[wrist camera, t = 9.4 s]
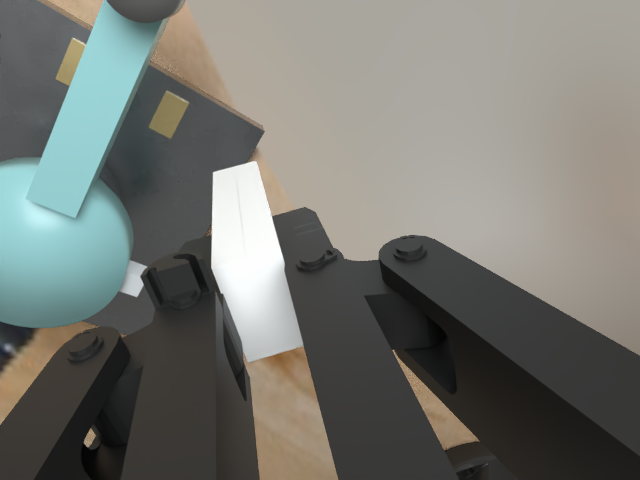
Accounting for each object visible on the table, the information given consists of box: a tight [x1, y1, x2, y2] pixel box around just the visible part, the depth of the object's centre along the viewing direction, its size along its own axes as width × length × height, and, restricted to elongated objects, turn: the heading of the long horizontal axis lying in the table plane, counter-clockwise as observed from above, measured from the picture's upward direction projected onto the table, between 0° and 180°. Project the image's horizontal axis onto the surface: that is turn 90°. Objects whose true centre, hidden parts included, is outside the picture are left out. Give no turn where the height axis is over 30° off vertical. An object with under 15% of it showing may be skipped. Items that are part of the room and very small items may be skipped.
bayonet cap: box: [0, 0, 185, 328], centre depth 19 cm, size 18×10×5 cm, turn 148°
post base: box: [0, 0, 265, 335], centre depth 26 cm, size 16×18×7 cm
